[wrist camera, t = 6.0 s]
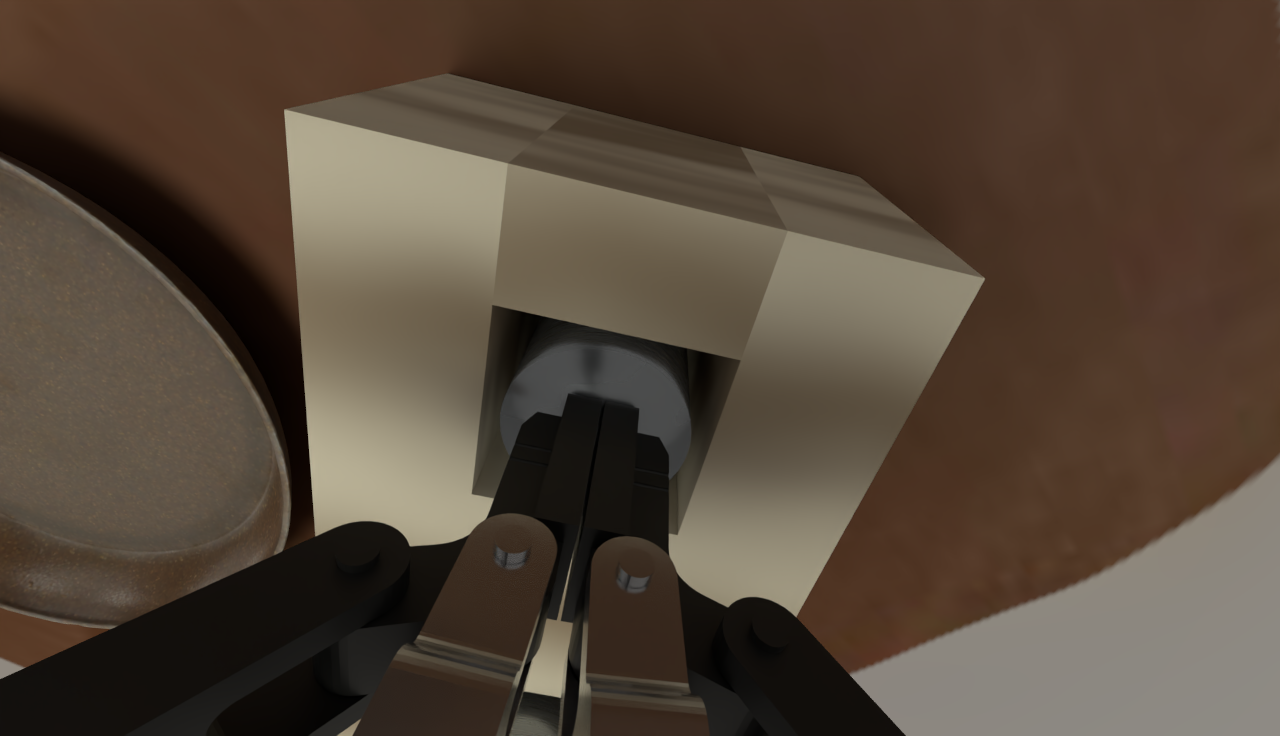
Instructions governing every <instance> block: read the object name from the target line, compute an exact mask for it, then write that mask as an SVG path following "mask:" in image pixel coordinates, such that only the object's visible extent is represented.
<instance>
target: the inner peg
mask: <svg viewBox="0 0 1280 736" xmlns="http://www.w3.org/2000/svg"><path fill="white" fill-rule="evenodd" d="M568 393H570V394H574V395H579V396H584V397H588V398H593V399H598V400H602V406H601V411H600V417H599V422H598V428H597V433H598V429H599V424H600V420H601V416H602V412H603V408H604V404H605V401H608V402H612V403H617V404H622V405H626V406H631V407H636V408H639V421H638V433H642V434H647V435H651V436H656V437H659V438H660V439H661V441H662V443H663V445H664V447H665V449H666V450H667V452H668V454H669V476H668V477H669V480H670V479H671V478H672V477H673V476H674V475H675V474H676V473H677V472H678V470H679V469H680V467H681V466H682V464H683V462H684V460H685V458H686V456H687V453H688V450H689V446H690V442H691V416H690V396H689V376H688V356H687V348H683V347H679V346H674V345H670V344H666V343H661V342H657V341H652V340H648V339H643V338H639V337H634V336H630V335H625V334H621V333H616V332H612V331H607V330H603V329H598V328H594V327H589V326H585V325H580V324H576V323H571V322H567V321H563V320H558V319H554V318H549V317H545V316H540V319H539V321H538V323H537V325H536V328H535V330H534V332H533V334H532V337H531V339H530V341H529V343H528V346H527V348H526V350H525V352H524V354H523V357H522V359H521V361H520V363H519V366H518V368H517V370H516V372H515V375H514V377H513V379H512V381H511V384H510V386H509V388H508V390H507V393H506V395H505V398H504V400H503V403H502V407H501V412H500V430H501V436H502V439H503V443H504V445H505V448H506V450H507V452H508V454H509V456H510V454H511V452H512V449H513V446H514V445H515V441H516V438H517V436H518V433H519V430H520V428H521V425H522V424H523V423H524V422H525V421H527V420H528V419H529V418H530V417H532V416H533V415H534V414H535V413H536V412H542V413H546V414H551V415H556V416H561V417H562V414H563V410H564V406H565V403H566V399H567V396H568ZM597 433H596V437H597ZM595 441H596V439H595ZM594 446H595V444H594Z"/></svg>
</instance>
